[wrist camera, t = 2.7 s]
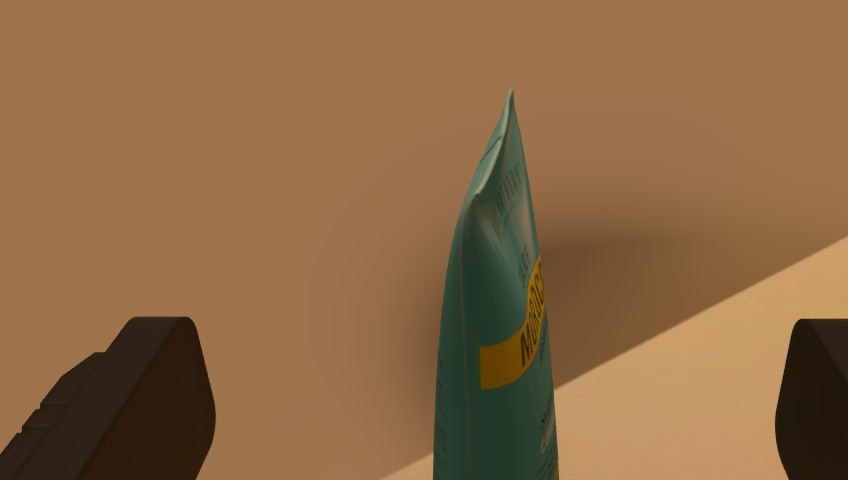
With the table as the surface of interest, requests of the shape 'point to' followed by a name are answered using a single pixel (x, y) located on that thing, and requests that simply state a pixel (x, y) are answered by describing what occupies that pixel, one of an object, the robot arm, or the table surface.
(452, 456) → the tube
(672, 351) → the table surface
